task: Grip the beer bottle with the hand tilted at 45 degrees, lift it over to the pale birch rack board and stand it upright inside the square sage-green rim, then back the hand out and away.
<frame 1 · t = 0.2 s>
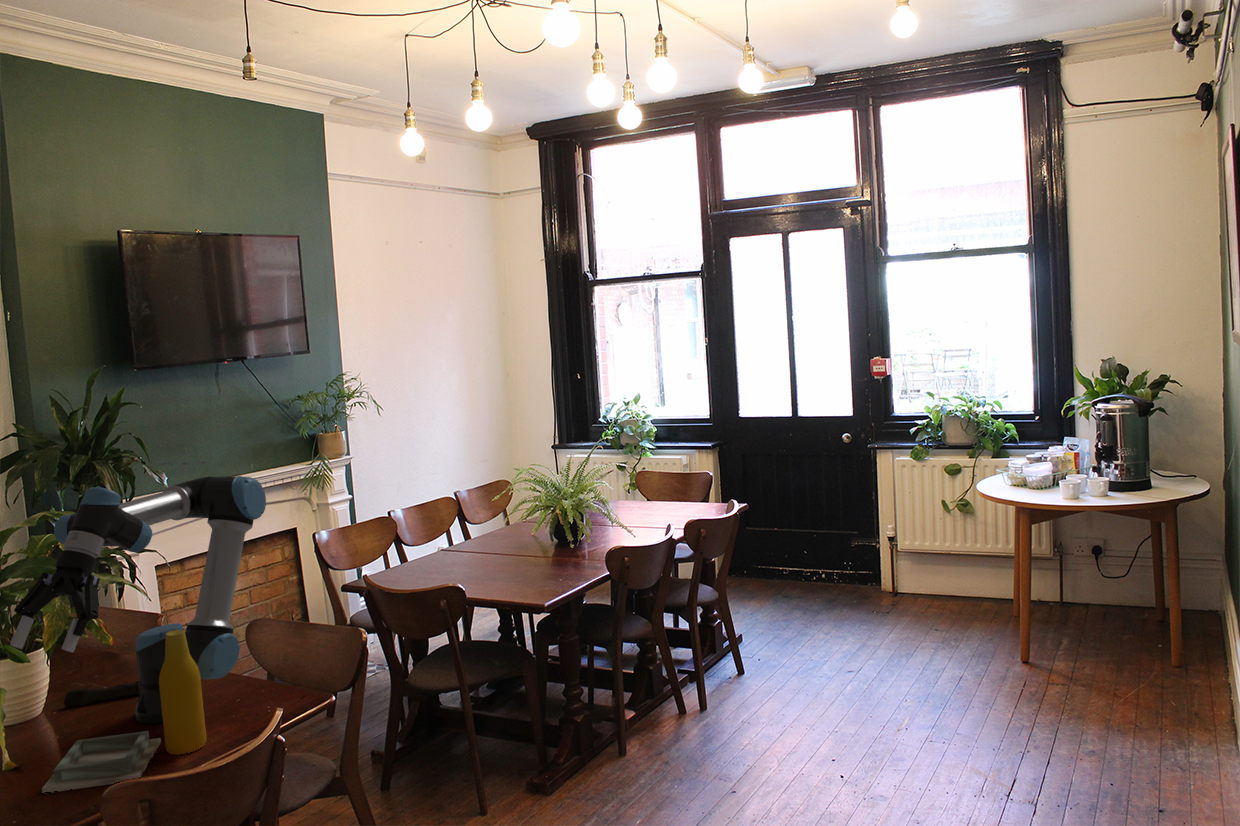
hand: (41, 649, 202), 36 cm above the table, tool tilted 35°, fingers open, 13 cm apart
hand tool: (103, 702, 265), on the table
beer bottle: (186, 747, 232), on the table
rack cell: (104, 766, 224), on the table
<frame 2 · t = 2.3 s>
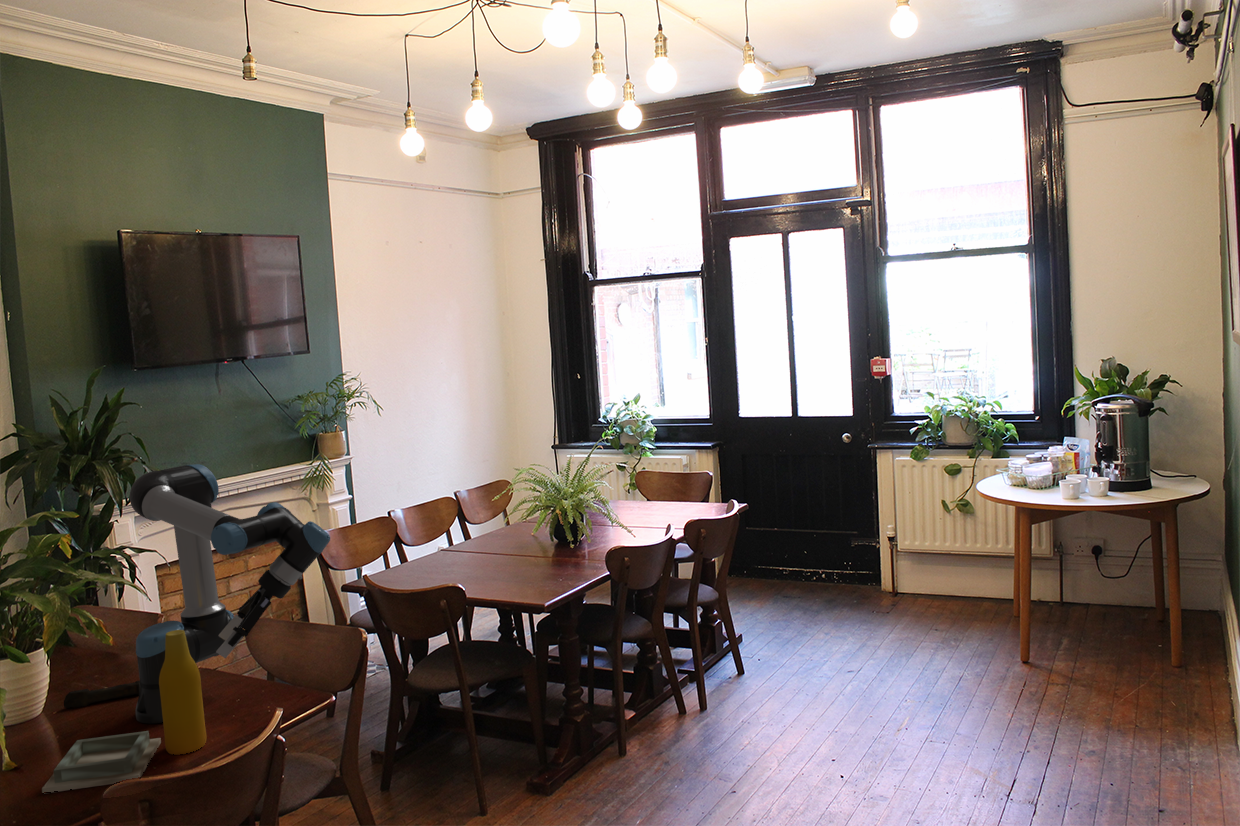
hand: (221, 646, 233), 24 cm above the table, tool tilted 45°, fingers open, 13 cm apart
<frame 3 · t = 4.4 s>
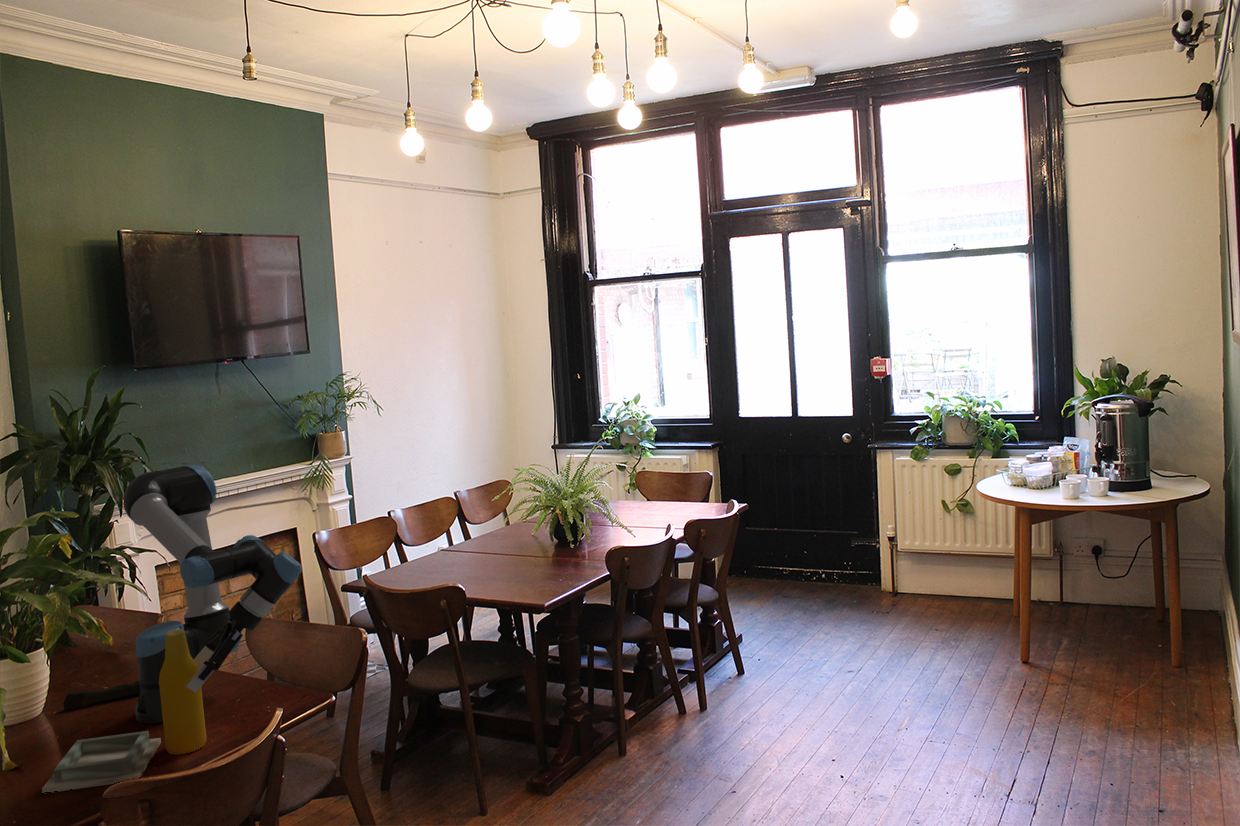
hand: (191, 679, 231), 17 cm above the table, tool tilted 45°, fingers open, 13 cm apart
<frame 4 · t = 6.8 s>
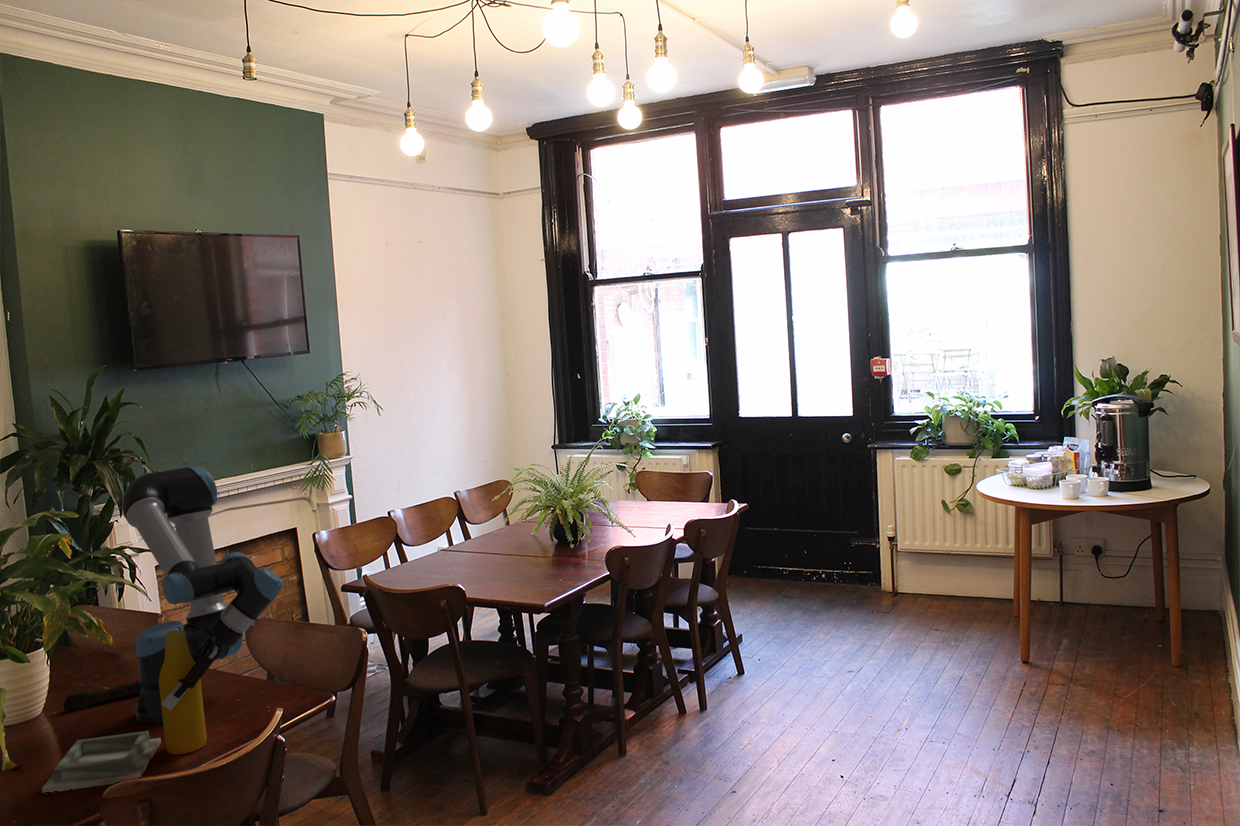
hand: (167, 699, 230), 13 cm above the table, tool tilted 45°, fingers closed on beer bottle, 9 cm apart
beer bottle: (186, 747, 232), on the table, touching gripper
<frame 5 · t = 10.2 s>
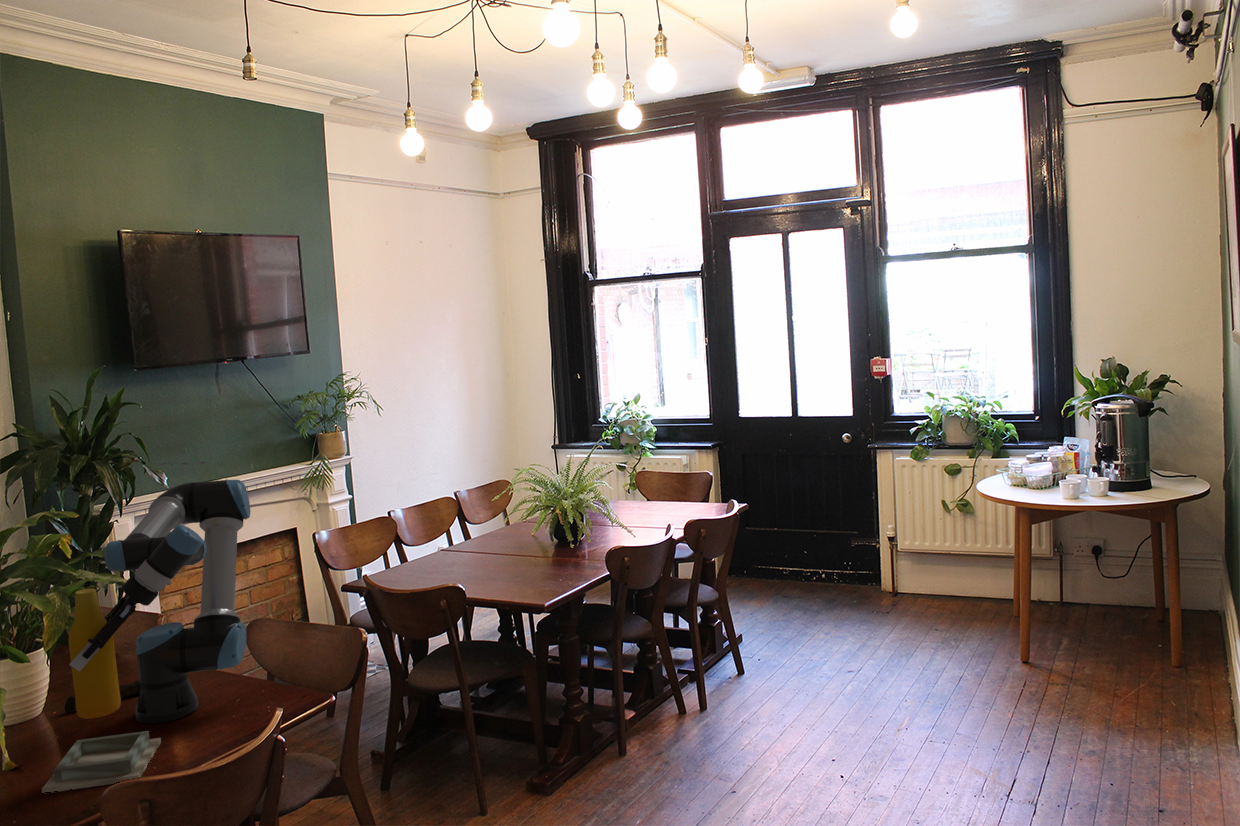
hand: (77, 660, 220), 27 cm above the table, tool tilted 45°, fingers closed on beer bottle, 9 cm apart
beer bottle: (99, 711, 223), point 14 cm above the table, touching gripper
when the fingers open (15 cm above the table, at t = 13.6 s): beer bottle drops 1 cm, resting on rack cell.
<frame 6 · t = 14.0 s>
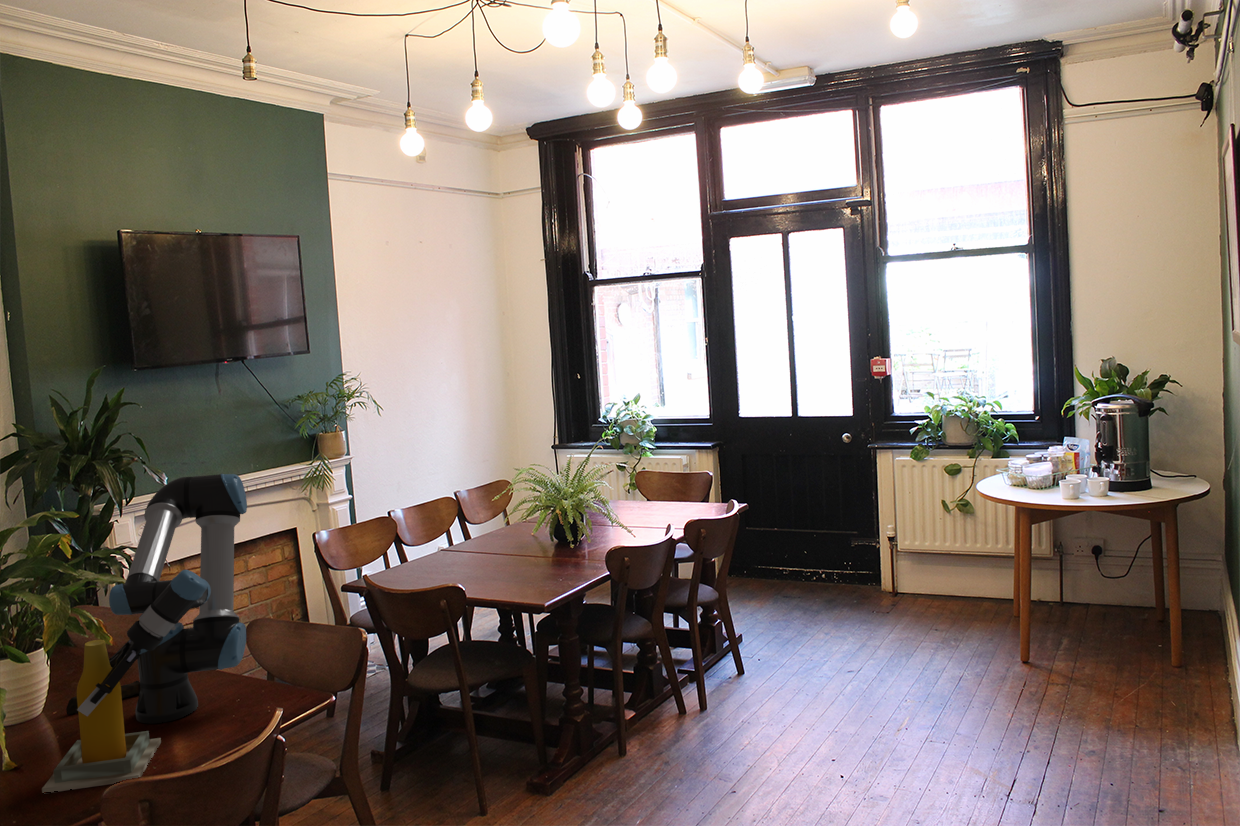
hand: (86, 702, 221), 16 cm above the table, tool tilted 45°, fingers open, 13 cm apart
beer bottle: (105, 761, 224), point 1 cm above the table, touching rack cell
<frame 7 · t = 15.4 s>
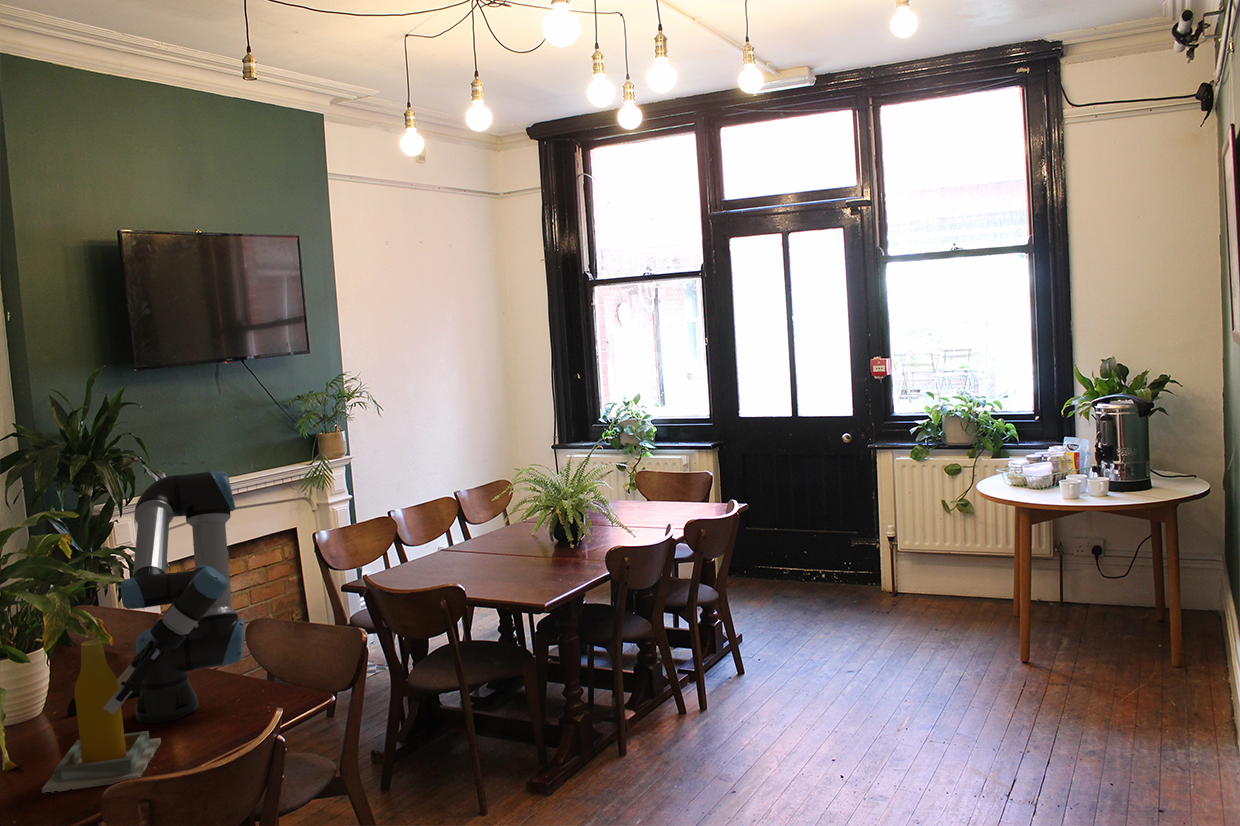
hand: (112, 700, 223), 16 cm above the table, tool tilted 45°, fingers open, 13 cm apart
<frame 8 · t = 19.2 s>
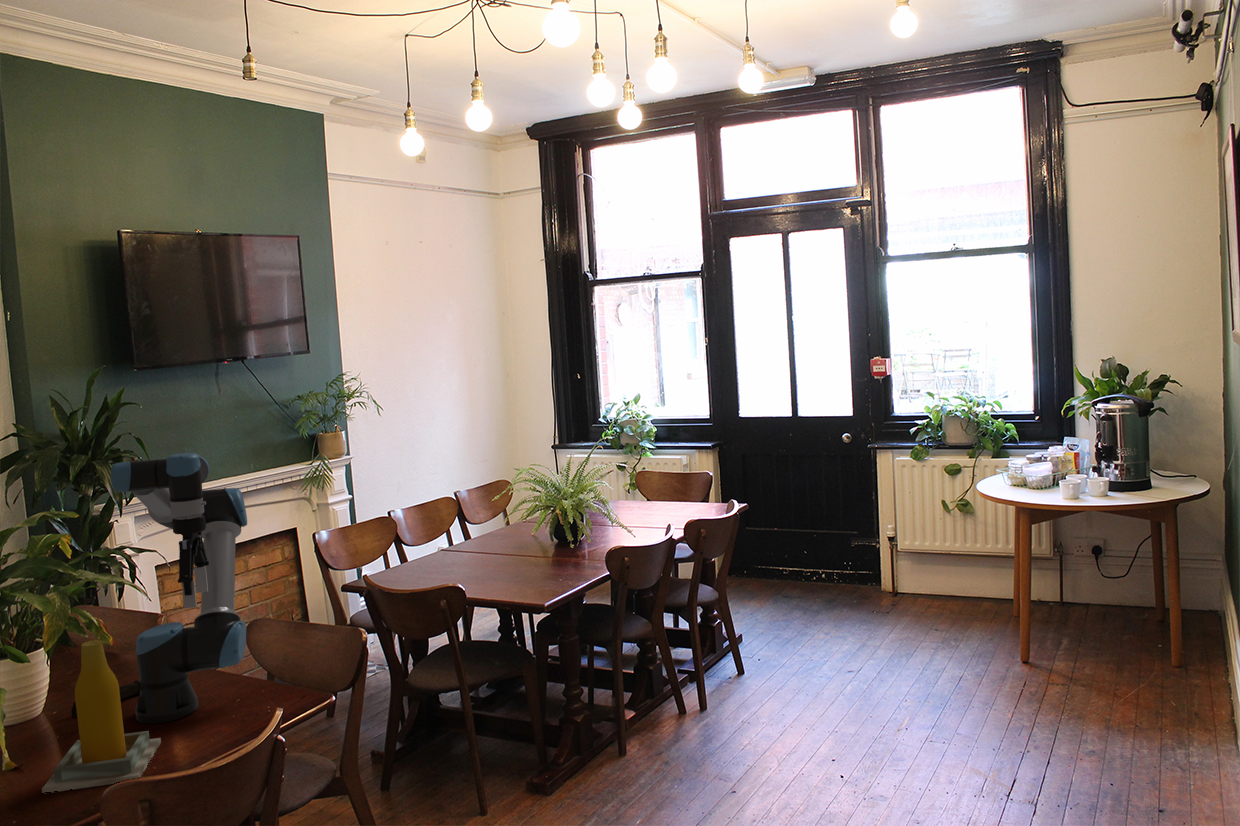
hand: (196, 599, 236), 35 cm above the table, tool pointing down, fingers open, 13 cm apart
hand tool: (108, 706, 261), on the table
everything else where it was.
at the end: beer bottle 0.1 cm off-centre on the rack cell, point 1.0 cm above the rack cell's base; beer bottle tilted 0°; the gripper is holding nothing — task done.
